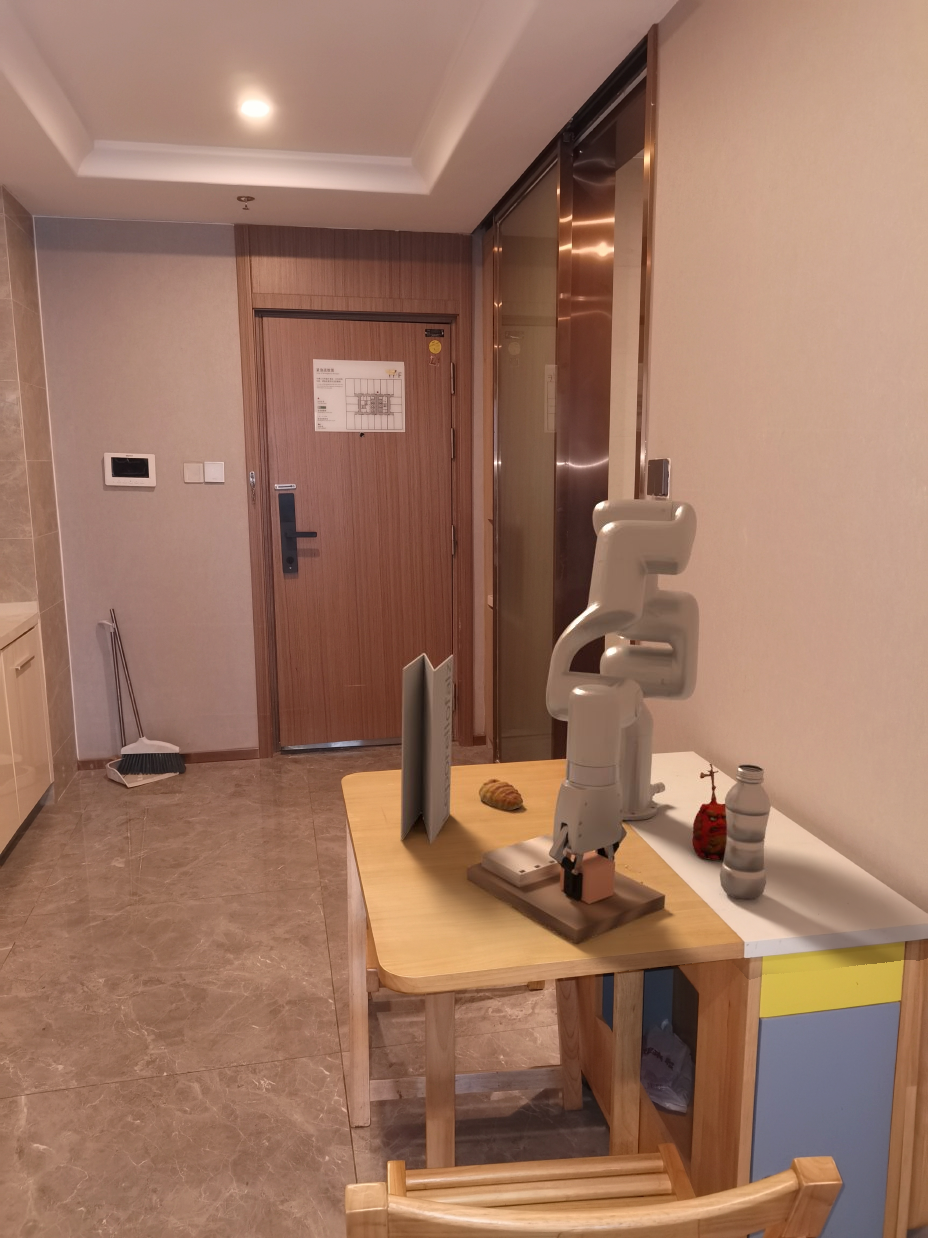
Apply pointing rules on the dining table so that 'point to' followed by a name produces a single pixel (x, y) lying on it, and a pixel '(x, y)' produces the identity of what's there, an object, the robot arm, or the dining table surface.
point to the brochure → (426, 744)
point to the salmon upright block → (595, 877)
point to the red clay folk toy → (710, 827)
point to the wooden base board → (558, 891)
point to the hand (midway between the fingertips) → (586, 890)
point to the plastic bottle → (745, 835)
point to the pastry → (500, 795)
